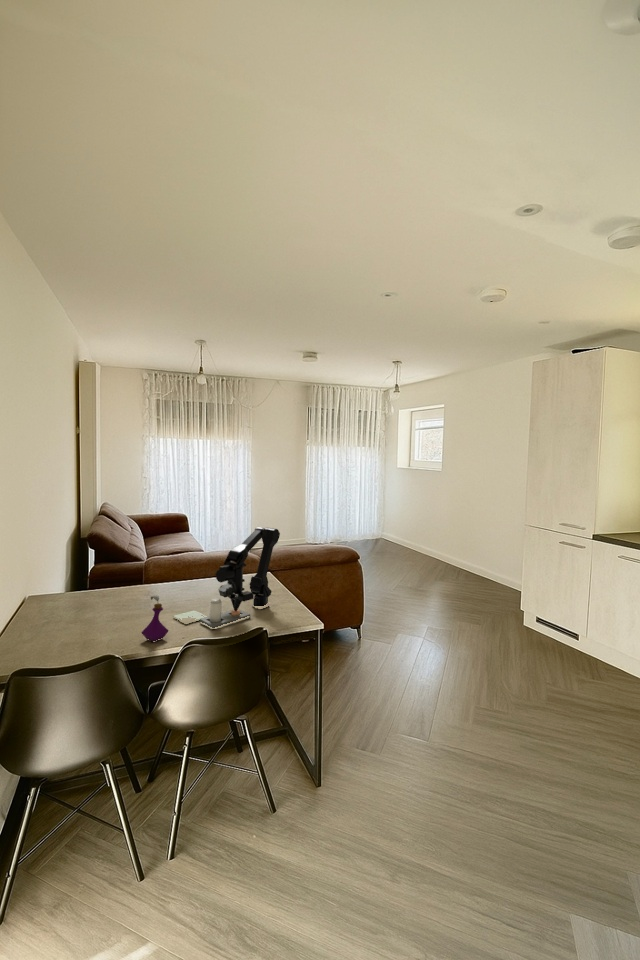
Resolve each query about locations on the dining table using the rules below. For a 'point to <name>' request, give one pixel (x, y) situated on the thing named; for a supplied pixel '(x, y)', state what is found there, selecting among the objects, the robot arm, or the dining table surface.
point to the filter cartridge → (215, 610)
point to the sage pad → (190, 615)
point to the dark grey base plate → (224, 618)
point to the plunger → (235, 612)
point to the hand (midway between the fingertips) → (235, 610)
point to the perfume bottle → (155, 624)
